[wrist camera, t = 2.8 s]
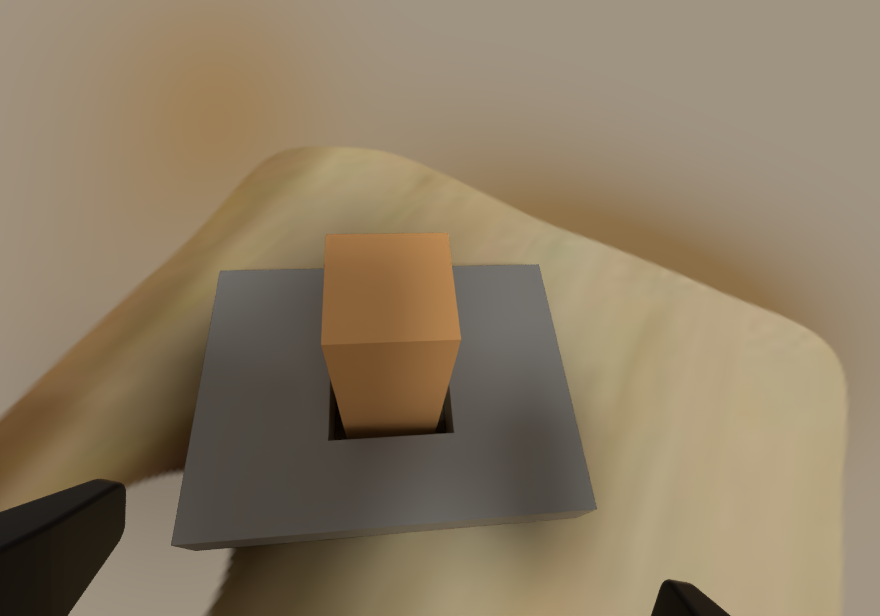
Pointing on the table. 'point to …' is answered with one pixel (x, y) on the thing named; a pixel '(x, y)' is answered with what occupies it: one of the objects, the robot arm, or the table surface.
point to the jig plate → (376, 459)
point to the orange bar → (389, 330)
